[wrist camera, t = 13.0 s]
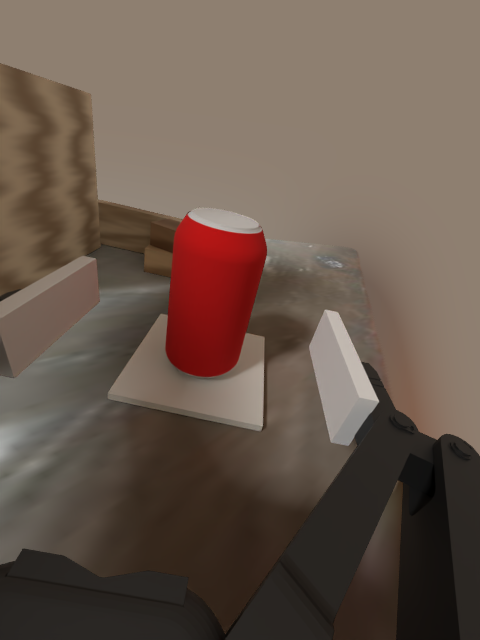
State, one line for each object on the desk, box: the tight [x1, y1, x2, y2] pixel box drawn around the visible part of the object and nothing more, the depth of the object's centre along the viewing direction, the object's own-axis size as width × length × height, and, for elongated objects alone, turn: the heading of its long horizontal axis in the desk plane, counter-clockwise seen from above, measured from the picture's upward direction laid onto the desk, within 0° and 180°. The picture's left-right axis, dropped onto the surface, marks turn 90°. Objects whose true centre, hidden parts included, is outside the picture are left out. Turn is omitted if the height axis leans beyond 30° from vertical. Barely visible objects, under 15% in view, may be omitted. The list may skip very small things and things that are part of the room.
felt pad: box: [107, 314, 265, 431], centre depth 24 cm, size 11×11×1 cm
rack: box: [0, 63, 183, 296], centre depth 29 cm, size 23×18×18 cm
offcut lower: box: [144, 245, 173, 277], centre depth 38 cm, size 5×7×4 cm
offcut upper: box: [150, 219, 181, 253], centre depth 37 cm, size 4×6×3 cm, turn 66°
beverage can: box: [165, 208, 267, 378], centre depth 20 cm, size 6×6×12 cm
